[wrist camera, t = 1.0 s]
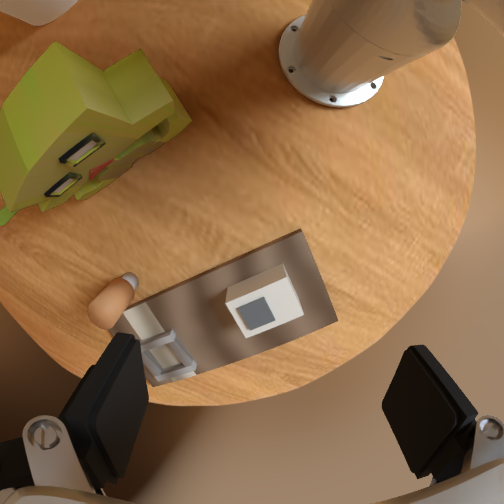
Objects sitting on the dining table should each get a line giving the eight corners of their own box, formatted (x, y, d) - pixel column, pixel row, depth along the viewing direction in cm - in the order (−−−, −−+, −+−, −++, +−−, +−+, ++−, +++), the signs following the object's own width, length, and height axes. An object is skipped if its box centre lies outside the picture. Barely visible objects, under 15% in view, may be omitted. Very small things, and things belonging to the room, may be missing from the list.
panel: (300, 228, 34) (304, 234, 31) (335, 316, 37) (341, 326, 35) (105, 316, 37) (98, 326, 35) (155, 382, 41) (150, 393, 38)
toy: (96, 198, 32) (-24, 247, 13) (75, 161, 30) (-50, 182, 11) (202, 122, 30) (135, 76, 11) (177, 83, 28) (94, 7, 9)
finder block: (282, 263, 34) (287, 278, 29) (298, 298, 35) (304, 316, 31) (227, 287, 34) (224, 305, 30) (246, 320, 36) (245, 340, 32)
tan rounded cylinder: (133, 264, 35) (103, 296, 26) (147, 287, 36) (121, 323, 27) (114, 274, 35) (82, 306, 27) (127, 296, 36) (99, 332, 28)
